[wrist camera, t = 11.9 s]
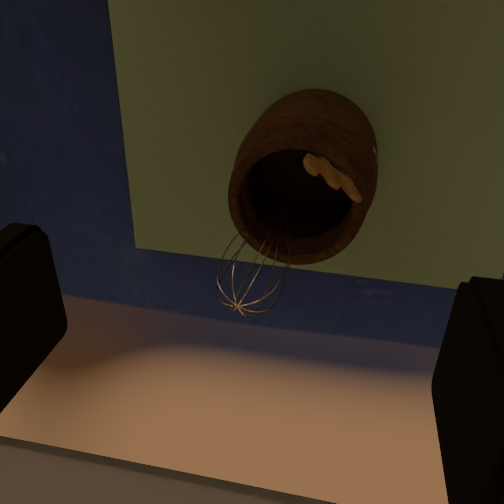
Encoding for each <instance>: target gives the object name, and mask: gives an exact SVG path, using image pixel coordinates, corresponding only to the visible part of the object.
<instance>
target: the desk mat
mask: <svg viewBox="0 0 504 504" xmlns="http://www.w3.org/2000/svg"><path fill="white" fill-rule="evenodd" d="M108 5H109V13H110V22H111V31H112V40H113V49H114V58H115V66H116V75H117V84H118V93H119V102H120V111H121V120H122V128H123V137H124V146H125V155H126V164H127V173H128V181H129V190H130V199H131V208H132V217H133V226H134V234H135V243H136V248H142V249H149V250H157V251H165V252H173V253H180V254H188V255H196V256H204V257H212V258H219V259H221V258H222V256H223V254H224V252H225V250H226V248H227V247H228V245H229V243H230V242H231V241H232V239H233V238H234V237H235V236H236V235H237V234H238V233H239V232H238V231H237V229H236V227H235V226H234V223H233V221H232V219H231V216H230V212H229V207H228V188H229V182H230V178H231V174H232V171H233V168H234V163H235V158H236V155H237V152H238V149H239V147H240V145H241V143H242V141H243V139H244V137H245V136H246V134H247V133H248V131H249V130H250V129H251V127H252V126H253V125H254V124H255V122H256V121H257V120H258V119H259V118H260V116H261V115H262V114H263V113H264V112H265V111H266V110H267V109H268V108H269V107H270V106H271V105H272V104H274V103H275V102H276V101H278V100H279V99H281V98H282V97H284V96H286V95H288V94H291V93H294V92H297V91H300V90H306V89H324V90H329V91H333V92H336V93H339V94H341V95H343V96H345V97H346V98H348V99H350V100H351V101H352V102H354V103H355V104H356V105H357V106H358V107H359V108H360V109H361V110H362V111H363V113H364V114H365V115H366V117H367V118H368V120H369V122H370V124H371V126H372V128H373V131H374V134H375V137H376V142H377V150H378V181H377V188H376V192H375V196H374V199H373V202H372V204H371V206H370V208H369V210H368V212H367V214H366V217H365V220H364V222H363V224H362V226H361V228H360V230H359V232H358V233H357V235H356V237H355V238H354V239H353V241H352V242H351V243H350V244H349V245H348V246H347V247H346V248H345V249H344V250H342V251H341V252H340V253H338V254H337V255H335V256H333V257H331V258H329V259H327V260H325V261H322V262H318V263H314V264H307V265H292V264H290V268H297V269H305V270H313V271H321V272H328V273H336V274H344V275H352V276H360V277H367V278H375V279H383V280H391V281H399V282H406V283H414V284H422V285H430V286H438V287H445V288H453V289H458V286H459V284H460V282H469V280H470V278H471V277H472V276H477V277H486V278H494V279H501V280H502V277H503V273H504V0H108ZM243 241H244V239H243V238H242V237H241V235H240V234H239V235H238V236H237V237H236V238H235V239H234V240H233V241H232V243H231V244H230V246H229V247H228V249H227V251H226V253H225V255H224V257H223V259H227V260H231V258H232V257H233V256H234V254H235V253H236V252H237V251H238V249H239V248H240V247H241V245H242V243H243ZM245 242H246V241H245ZM245 242H244V243H245ZM237 253H238V252H237ZM257 254H258V252H257V251H256V250H254V249H253V248H252V247H251V246H250V245H249V244H248V243H246V244H245V245H244V246H243V247H242V248H241V250H240V252H239V254H238V257H237V259H236V261H243V262H251V263H253V262H254V260H255V258H256V256H257ZM236 255H237V254H236ZM236 255H235V256H234V258H233V259H232V260H235V258H236ZM264 257H265V256H264V255H262V254H260V253H259V255H258V257H257V259H256V261H255V263H258V264H262V262H263V260H264ZM263 264H266V265H274V260H272V259H270V258H267V257H266V259H265V261H264V263H263ZM286 265H287V264H285V263H281V262H278V261H275V266H282V267H286ZM287 267H289V264H288V266H287Z"/></svg>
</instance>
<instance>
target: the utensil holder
mask: <svg viewBox="0 0 504 504" xmlns="http://www.w3.org/2000/svg"><path fill="white" fill-rule="evenodd" d="M377 181H378V150H377V142H376V137H375V134H374V131H373V128H372V126H371V124H370V122H369V120H368V118H367V117H366V115H365V114H364V113H363V111H362V110H361V109H360V108H359V107H358V106H357V105H356V104H355V103H354V102H352V101H351V100H350V99H348V98H346V97H345V96H343V95H341V94H339V93H336V92H333V91H329V90H324V89H306V90H300V91H297V92H294V93H291V94H288V95H286V96H284V97H282V98H281V99H279V100H278V101H276V102H275V103H274V104H272V105H271V106H270V107H269V108H268V109H267V110H266V111H265V112H264V113H263V114H262V115H261V116H260V118H259V119H258V120H257V121H256V122H255V124H254V125H253V126H252V127H251V129H250V130H249V131H248V133H247V134H246V136H245V137H244V139H243V141H242V143H241V145H240V147H239V149H238V152H237V155H236V158H235V163H234V168H233V171H232V174H231V178H230V182H229V188H228V207H229V212H230V216H231V219H232V221H233V223H234V226H235V227H236V229H237V231H238V232H239V233H238V234H237V235H236V236H235V237H234V238H233V239H232V241H233V240H234V239H235V238H236V237H237V236H238V235H239V234H240V235H241V237H242V238H243V239H244V241H243V243H242V245H241V247H240V248H239V249H238V251H237V252H238V253H237V252H236V253H235V254H234V256H235V255H236V254H237V255H236V258H235V261H234V265H233V271H232V290H233V295H234V299H235V301H234V302H233V301H232V300H230V299H229V298H228V297H227V296H226V295H225V294H224V292H223V291H222V289H221V287H220V282H221V280H222V277H223V275H224V273H225V271H226V269H227V267H228V266H229V264H230V262H231V261H232V259H233V258H234V256H233V257H232V258H231V260H230V261H229V263H228V265H227V267H226V268H225V270H224V272H223V274H222V277H221V279H220V281H218V269H219V266H220V263H221V261H222V259H223V257H224V255H225V253H226V251H227V249H228V247H229V246H230V244H231V243H232V241H231V242H230V243H229V245H228V247H227V248H226V250H225V252H224V254H223V256H222V258H221V260H220V262H219V265H218V267H217V272H216V278H217V283H218V285H217V289H216V295H217V298H218V300H219V301H220V302H221V303H223V304H225V305H228V306H232V308H231V313H233V312H234V311H235V310H236V308H237V307H238V309H239V311H240V312H241V313H242V315H244V316H245V317H252V316H254V315H255V314H256V313H257V312H263V311H267V310H269V309H270V308H272V307H273V306H274V305H275V304H276V303H277V301H278V299H279V297H280V295H281V293H282V290H283V288H284V286H285V283H286V281H287V278H288V274H289V269H290V264H292V265H307V264H314V263H318V262H322V261H325V260H327V259H329V258H331V257H333V256H335V255H337V254H338V253H340V252H341V251H342V250H344V249H345V248H346V247H347V246H348V245H349V244H350V243H351V242H352V241H353V239H354V238H355V237H356V235H357V233H358V232H359V230H360V228H361V226H362V224H363V222H364V220H365V217H366V214H367V212H368V210H369V208H370V206H371V204H372V202H373V199H374V196H375V192H376V188H377ZM245 241H246V242H245ZM244 242H245V243H244ZM246 243H248V244H249V245H250V246H251V247H252V248H253V249H254V250H256V251H257V252H258V254H257V256H256V258H255V260H254V262H253V264H254V263H255V261H256V259H257V257H258V255H259V253H260V254H262V255H264V256H265V257H264V260H263V262H262V264H261V266H260V268H259V270H258V272H257V273H256V275H255V277H254V279H253V281H252V283H251V284H250V286H249V288H248V289H247V291H246V293H245V294H244V296H243V297H242V299H241V300H240V302H239V303H237V301H236V300H237V297H238V295H239V293H240V291H241V289H242V287H243V285H244V282H245V280H246V278H247V276H248V274H249V272H250V270H251V268H252V266H253V264H252V266H251V268H250V270H249V272H248V274H247V276H246V278H245V280H244V282H243V284H242V286H241V288H240V290H239V292H238V294H237V297H235V293H234V286H233V275H234V267H235V262H236V259H237V257H238V254H239V252H240V250H241V248H242V247H243V246H244V245H245V244H246ZM266 257H267V258H270V259H272V260H274V265H273V270H272V274H271V278H272V275H273V271H274V266H275V261H278V262H281V263H285V264H287V265H286V267H285V269H284V272H283V274H282V276H281V278H280V280H279V282H278V284H277V285H276V286H275V288H274V289H273V290H272V291H271V292H270V293H268V294H267V295H266V292H267V290H268V287H269V285H270V282H271V278H270V281H269V284H268V286H267V289H266V291H265V294H264V296H263V298H261V299H259V300H257V301H254V302H252V303H248V304H242V305H239V304H240V303H241V301H242V300H243V298H244V297H245V295H246V294H247V292H248V290H249V289H250V287H251V285H252V284H253V282H254V280H255V278H256V277H257V275H258V273H259V271H260V269H261V267H262V265H263V263H264V261H265V259H266ZM288 264H289V267H288V273H287V277H286V280H285V282H284V285H283V287H282V290H281V292H280V294H279V296H278V298H277V300H276V302H275V303H274V304H273V305H272V306H271V307H269V308H268V309H265V310H262V311H258V310H259V308H260V306H261V303H262V301H263V299H264V298H265V297H267V296H268V295H269V294H271V293H272V292H273V291H274V290H275V289H276V287H277V286H278V285H279V283H280V281H281V279H282V277H283V275H284V273H285V270H286V268H287V266H288ZM218 287H219V288H220V290H221V292H222V293H223V295H224V296H225V297H226V298H227V299H228V300H229V301H230V302H232V303H233V305H230V304H226V303H224V302H222V301H221V300H220V299H219V297H218V292H217V291H218ZM265 295H266V296H265ZM260 300H261V303H260V305H259V307H258V309H257V310H256V311H253V310H248V309H245V308H243V307H241V306H245V305H250V304H253V303H256V302H258V301H260ZM235 302H236V303H235ZM234 304H235V305H234ZM233 306H236V307H235V309H234V310H233V311H232V309H233ZM239 307H240V308H242V309H244V310H247V311H250V312H255V313H254V314H253V315H251V316H246V315H245V314H243V312H242V311H241V310H240V308H239Z"/></svg>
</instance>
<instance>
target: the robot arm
mask: <svg viewBox="0 0 504 504" xmlns="http://www.w3.org/2000/svg"><path fill="white" fill-rule="evenodd" d="M66 330H67V317H66V313H65V309H64V304H63V300H62V296H61V291H60V287H59V283H58V278H57V274H56V270H55V265H54V261H53V257H52V252H51V248H50V244H49V239H48V236H47V235H46V233H44V232H42V230H41V229H40V227H38V226H37V225H29V224H21V223H11V224H9V225H8V226H6V227H5V228H3V229H2V230H1V231H0V413H1V412H2V411H3V409H4V408H5V407H6V406H7V404H8V403H9V402H10V401H11V399H12V398H13V397H14V396H15V395H16V394H17V392H18V391H19V390H20V389H21V387H22V386H23V385H24V384H25V382H26V381H27V380H28V379H29V378H30V376H31V375H32V374H33V372H35V370H36V369H37V368H38V366H39V365H40V364H41V363H42V362H43V360H44V359H45V358H46V357H47V356H48V355H49V353H50V352H51V351H52V349H53V348H54V347H55V346H56V345H57V344H58V342H59V341H60V340H61V339H62V338H63V336H64V335H65V333H66ZM432 399H433V405H434V412H435V418H436V425H437V430H438V438H439V444H440V450H441V457H442V464H443V470H444V477H445V483H446V489H447V496H448V503H449V504H504V281H503V280H501V279H494V278H486V277H477V276H472V277H471V278H470V280H469V282H460V284H459V286H458V289H457V293H456V296H455V300H454V303H453V307H452V310H451V314H450V317H449V321H448V324H447V328H446V331H445V335H444V338H443V342H442V346H441V349H440V353H439V356H438V360H437V364H436V367H435V370H434V374H433V378H432ZM0 504H336V503H331V502H327V501H322V500H317V499H313V498H307V497H303V496H297V495H293V494H288V493H283V492H278V491H273V490H268V489H264V488H259V487H254V486H249V485H244V484H239V483H234V482H229V481H224V480H220V479H215V478H210V477H204V476H200V475H195V474H190V473H185V472H180V471H175V470H170V469H165V468H160V467H155V466H150V465H145V464H140V463H135V462H130V461H125V460H120V459H115V458H110V457H105V456H100V455H94V454H90V453H85V452H80V451H75V450H70V449H64V448H59V447H54V446H49V445H44V444H39V443H34V442H29V441H24V440H19V439H13V438H7V437H3V436H0Z"/></svg>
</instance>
